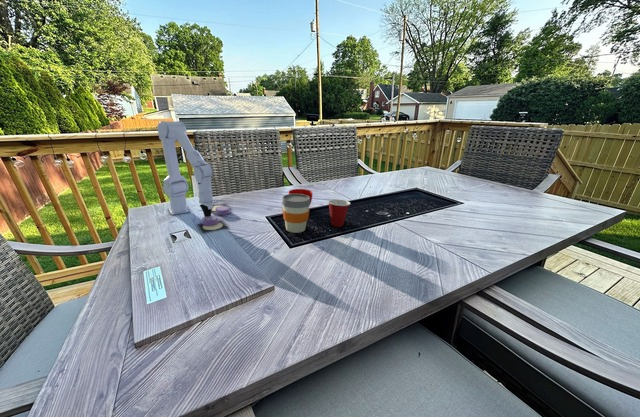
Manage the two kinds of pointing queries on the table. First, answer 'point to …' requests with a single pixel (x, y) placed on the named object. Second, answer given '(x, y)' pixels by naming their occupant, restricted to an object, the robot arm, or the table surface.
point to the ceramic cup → (302, 192)
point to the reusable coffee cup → (295, 212)
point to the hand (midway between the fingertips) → (208, 218)
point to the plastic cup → (338, 211)
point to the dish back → (222, 210)
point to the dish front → (210, 220)
